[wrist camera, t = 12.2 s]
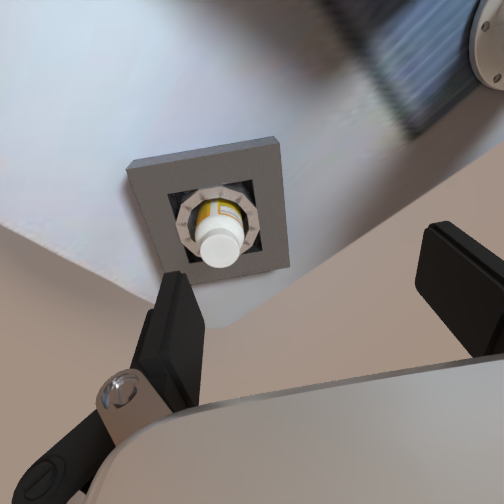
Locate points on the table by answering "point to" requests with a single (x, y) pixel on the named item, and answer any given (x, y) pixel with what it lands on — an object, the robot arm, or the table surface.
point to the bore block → (208, 187)
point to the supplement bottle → (219, 232)
